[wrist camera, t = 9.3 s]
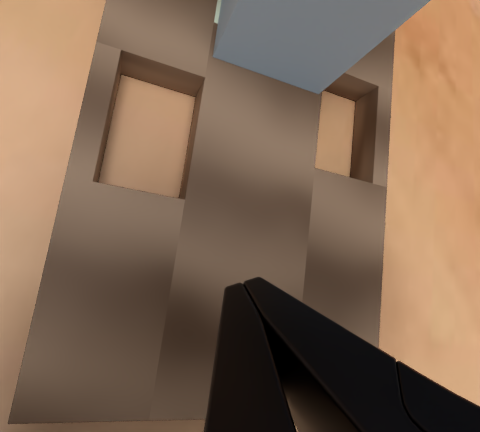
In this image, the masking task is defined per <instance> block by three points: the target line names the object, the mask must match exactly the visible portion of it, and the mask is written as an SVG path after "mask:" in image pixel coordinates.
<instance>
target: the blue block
mask: <svg viewBox="0 0 480 432" xmlns="http://www.w3.org/2000/svg"><path fill="white" fill-rule="evenodd" d="M429 1H430V0H222V1H221V7H220V13H219V20H218V26H217V32H216V39H215V45H214V51H213V57H214V58H217V59H220V60H223V61H225V62H228V63H231V64H234V65H237V66H240V67H242V68H245V69H248V70H251V71H254V72H257V73H260V74H262V75H265V76H268V77H271V78H274V79H277V80H279V81H282V82H285V83H288V84H291V85H294V86H296V87H299V88H302V89H305V90H308V91H311V92H314V93H316V94H320V93H321V92H322V91H323V90H324V89H326V88H327V87H328V86H329V85H330V84H332V83H333V82H334V81H335V80H336V79H337V78H339V77H340V76H341V75H342V74H343V73H345V72H346V71H347V70H348V69H349V68H351V67H352V66H353V65H354V64H355V63H357V62H358V61H359V60H360V59H361V58H363V57H364V56H365V55H366V54H367V53H368V52H370V51H371V50H372V49H373V48H374V47H376V46H377V45H378V44H379V43H380V42H382V41H383V40H384V39H385V38H386V37H388V36H389V35H390V34H391V33H392V32H393V31H395V30H396V29H397V28H398V27H399V26H401V25H402V24H403V23H404V22H405V21H407V20H408V19H409V18H410V17H411V16H413V15H414V14H415V13H416V12H417V11H419V10H420V9H421V8H422V7H423V6H424V5H426V4H427V3H428V2H429Z"/></svg>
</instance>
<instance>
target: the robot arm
mask: <svg viewBox="0 0 480 432" xmlns="http://www.w3.org/2000/svg"><path fill="white" fill-rule="evenodd" d="M293 421H294V422H293ZM294 423H295V425H296V427H297V429H298V431H299V432H480V406H478V405H476V404H474V403H472V402H470V401H468V400H466V399H465V398H463V397H461V396H459V395H457V394H455V393H453V392H452V391H450V390H448V389H446V388H445V387H443V386H441V385H439V384H438V383H436V382H434V381H433V380H431V379H429V378H427V377H426V376H424V375H422V374H420V373H419V372H417V371H415V370H414V369H412V368H410V367H409V366H407V365H406V364H404V363H402V362H401V361H397V362H396V359H395V358H394V357H392V356H390V355H389V354H387V353H385V352H384V351H382V350H380V349H379V348H377V347H376V346H374V345H372V344H371V343H369V342H367V341H366V340H364V339H362V338H361V337H359V336H357V335H356V334H354V333H352V332H351V331H349V330H347V329H346V328H344V327H343V326H341V325H339V324H338V323H336V322H334V321H333V320H331V319H329V318H328V317H326V316H324V315H323V314H321V313H319V312H318V311H316V310H314V309H313V308H311V307H310V306H308V305H306V304H305V303H303V302H301V301H300V300H298V299H296V298H295V297H293V296H291V295H290V294H288V293H286V292H285V291H283V290H281V289H280V288H278V287H277V286H275V285H273V284H272V283H270V282H268V281H267V280H265V279H263V278H262V277H255V278H252V279H249V280H246V281H244V282H243V284H242V283H236V284H233V285H230V286H227V287H225V289H224V294H223V301H222V308H221V315H220V322H219V329H218V336H217V343H216V350H215V357H214V364H213V371H212V378H211V385H210V392H209V399H208V406H207V413H206V420H205V427H204V432H297V431H296V428H295V425H294Z"/></svg>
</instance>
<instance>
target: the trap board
mask: <svg viewBox="0 0 480 432" xmlns="http://www.w3.org/2000/svg"><path fill="white" fill-rule="evenodd" d="M221 1H222V0H106V3H105V7H104V11H103V16H102V20H101V24H100V29H99V33H98V37H97V42H96V46H95V50H94V55H93V59H92V63H91V67H90V72H89V76H88V80H87V85H86V89H85V93H84V98H83V102H82V106H81V111H80V115H79V119H78V123H77V128H76V132H75V136H74V141H73V145H72V149H71V154H70V158H69V162H68V167H67V171H66V175H65V179H64V184H63V188H62V192H61V197H60V201H59V205H58V210H57V214H56V218H55V223H54V227H53V231H52V235H51V240H50V244H49V248H48V253H47V257H46V261H45V266H44V270H43V274H42V279H41V283H40V287H39V291H38V296H37V300H36V304H35V309H34V313H33V317H32V322H31V326H30V330H29V335H28V339H27V343H26V347H25V352H24V356H23V360H22V365H21V369H20V373H19V378H18V382H17V386H16V391H15V395H14V399H13V403H12V408H11V412H10V416H9V421H8V424H28V423H70V422H112V421H154V420H196V419H206V413H207V406H208V399H209V392H210V385H211V378H212V371H213V364H214V357H215V350H216V343H217V336H218V329H219V322H220V315H221V308H222V301H223V294H224V289H225V287H227V286H230V285H233V284H236V283H242V284H243V282H244V281H246V280H249V279H252V278H255V277H262V278H263V279H265V280H267V281H268V282H270V283H272V284H273V285H275V286H277V287H278V288H280V289H281V290H283V291H285V292H286V293H288V294H290V295H291V296H293V297H295V298H296V299H298V300H300V301H301V302H303V303H305V304H306V305H308V306H310V307H311V308H313V309H314V310H316V311H318V312H319V313H321V314H323V315H324V316H326V317H328V318H329V319H331V320H333V321H334V322H336V323H338V324H339V325H341V326H343V327H344V328H346V329H347V330H349V331H351V332H352V333H354V334H356V335H357V336H359V337H361V338H362V339H364V340H366V341H367V342H369V343H371V344H372V345H374V346H376V347H377V348H378V347H379V328H380V309H381V290H382V271H383V251H384V232H385V213H386V194H387V175H388V156H389V137H390V118H391V99H392V80H393V61H394V42H395V31H393V32H392V33H391V34H390V35H389V36H388V37H386V38H385V39H384V40H383V41H382V42H380V43H379V44H378V45H377V46H376V47H374V48H373V49H372V50H371V51H370V52H368V53H367V54H366V55H365V56H364V57H363V58H361V59H360V60H359V61H358V62H357V63H355V64H354V65H353V66H352V67H351V68H349V69H348V70H347V71H346V72H345V73H343V74H342V75H341V76H340V77H339V78H337V79H336V80H335V81H334V82H333V83H332V84H330V85H329V86H328V87H327V88H326V89H324V90H325V91H328V92H331V93H334V94H337V95H339V96H342V97H345V98H348V99H351V100H353V101H356V106H355V119H354V133H353V147H352V160H351V174H350V177H346V176H343V175H339V174H335V173H331V172H328V171H324V170H320V169H316V168H315V161H316V150H317V139H318V128H319V118H320V107H321V96H322V92H321V93H320V94H316V93H314V92H311V91H308V90H305V89H302V88H299V87H296V86H294V85H291V84H288V83H285V82H282V81H279V80H277V79H274V78H271V77H268V76H265V75H262V74H260V73H257V72H254V71H251V70H248V69H245V68H242V67H240V66H237V65H234V64H231V63H228V62H225V61H223V60H220V59H217V58H214V57H213V51H214V45H215V39H216V32H217V26H218V20H219V13H220V7H221ZM121 74H123V75H126V76H129V77H133V78H136V79H139V80H142V81H146V82H149V83H152V84H155V85H159V86H162V87H165V88H169V89H172V90H175V91H178V92H182V93H185V94H188V95H191V96H195V97H196V99H195V105H194V111H193V117H192V123H191V129H190V135H189V141H188V147H187V153H186V159H185V165H184V171H183V177H182V183H181V189H180V195H179V198H174V197H169V196H163V195H158V194H153V193H148V192H143V191H138V190H133V189H128V188H123V187H118V186H113V185H108V184H103V183H98V179H99V175H100V170H101V165H102V161H103V156H104V151H105V146H106V142H107V137H108V132H109V128H110V123H111V118H112V114H113V109H114V104H115V100H116V95H117V90H118V85H119V81H120V76H121Z"/></svg>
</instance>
